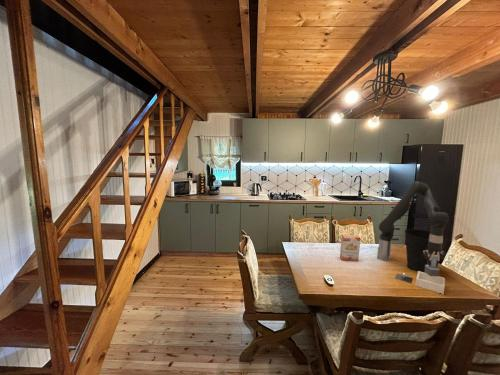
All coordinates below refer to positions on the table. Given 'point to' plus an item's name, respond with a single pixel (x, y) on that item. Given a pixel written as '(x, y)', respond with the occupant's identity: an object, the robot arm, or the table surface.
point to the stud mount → (404, 278)
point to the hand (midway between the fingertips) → (432, 265)
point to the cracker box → (350, 247)
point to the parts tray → (430, 282)
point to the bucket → (417, 248)
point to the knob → (432, 267)
